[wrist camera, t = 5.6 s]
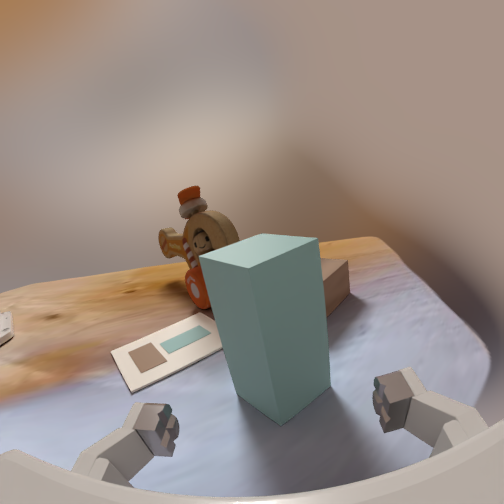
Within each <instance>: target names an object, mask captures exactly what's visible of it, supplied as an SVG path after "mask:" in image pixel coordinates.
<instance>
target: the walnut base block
mask: <svg viewBox="0 0 504 504" xmlns="http://www.w3.org/2000/svg"><path fill="white" fill-rule="evenodd" d="M320 260H321V268H322V277H323V286H324V296H325V307H326V318H327V317H328V316H329V315H330V314H331V313H332V312H333V311H334V309H335V308H336V307H337V306H338V305H339V304H340V303H341V302H342V301H343V300H344V299H345V298H346V296H347V295H348V294H349V293H350V284H349V270H348V260H339V259H323V258H320Z"/></svg>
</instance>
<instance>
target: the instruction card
mask: <svg viewBox="0 0 504 504" xmlns="http://www.w3.org/2000/svg"><path fill="white" fill-rule="evenodd" d="M222 348H223V347H222V343H221V340H220V336H219V333H218V329H217V325H216V322H215V320H213V319H211V318H209V317H208V316H206V315H204V314H202V313H201V312H199V313H197V314H195V315H193V316H191V317H188V318H186V319H184V320H182V321H180V322H177V323H175V324H173V325H171V326H168V327H166V328H164V329H162V330H159V331H157V332H155V333H152V334H150V335H148V336H146V337H143V338H141V339H139V340H136V341H134V342H132V343H129V344H127V345H125V346H122V347H120V348H118V349H115V350H113V351H111V353H112V355H113V357H114V359H115V362H116V364H117V366H118V368H119V370H120V372H121V374H122V375H123V377H124V379H125V381H126V383H127V385H128V387H129V389H130V391H131V392H132V393H133V392H135V391H138V390H140V389H142V388H144V387H146V386H148V385H151V384H153V383H155V382H157V381H159V380H161V379H163V378H165V377H167V376H169V375H171V374H174V373H176V372H178V371H180V370H182V369H184V368H186V367H188V366H190V365H191V364H193V363H195V362H197V361H199V360H201V359H203V358H205V357H207V356H209V355H211V354H213V353H215V352H216V351H218V350H220V349H222Z"/></svg>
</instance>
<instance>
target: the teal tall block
mask: <svg viewBox="0 0 504 504" xmlns="http://www.w3.org/2000/svg"><path fill="white" fill-rule="evenodd" d="M199 260H200V264H201V268H202V272H203V276H204V280H205V284H206V288H207V292H208V296H209V300H210V303H211V307H212V311H213V315H214V318H215V322H216V325H217V329H218V333H219V336H220V340H221V343H222V347H223V350H224V354H225V357H226V360H227V364H228V367H229V370H230V374H231V377H232V380H233V383H234V387H235V390H236V393H237V394H238V395H239V396H240V397H242V398H243V399H244V400H245V401H247V402H248V403H249V404H251V405H252V406H253V407H255V408H256V409H258V410H259V411H260V412H262V413H263V414H264V415H266V416H267V417H269V418H270V419H271V420H273V421H274V422H276V423H277V424H279V425H280V426H282V425H283V424H285V423H286V422H287V421H289V420H290V419H291V418H292V417H294V416H295V415H296V414H297V413H299V412H300V411H301V410H302V409H304V408H305V407H306V406H307V405H309V404H310V403H311V402H312V401H313V400H315V399H316V398H317V397H318V396H319V395H320V394H322V393H323V392H324V391H325V390H326V389H327V388H329V387H330V386H331V382H330V362H329V345H328V331H327V319H326V307H325V296H324V286H323V277H322V268H321V260H320V251H319V243H318V238H309V237H296V236H285V235H273V234H259V235H256V236H253V237H251V238H248V239H245V240H242V241H239V242H237V243H234V244H231V245H228V246H225V247H223V248H220V249H217V250H214V251H211V252H209V253H206V254H203V255H200V256H199Z"/></svg>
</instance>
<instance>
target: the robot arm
mask: <svg viewBox="0 0 504 504" xmlns="http://www.w3.org/2000/svg"><path fill="white" fill-rule="evenodd" d="M13 335H14V331H13V316H12V314H11V312H10V311H9V312H4V313H1V312H0V345H1V344H3V343H4V342H6V341H7V340H9V339H10V338H12V337H13ZM374 387H375V390H374V392H373V398H372V399H373V406H374V410H375V412H376V414H378V415H379V416H380V420H379V422H380V425H381V427H382V430H383V432H384V433H387V432H390V431H394V430H397V429H400V428H404V429H406V430H407V431H409V432H410V433H412V434H413V435H415V436H416V437H418V438H419V439H421V440H422V441H424V442H425V443H427V444H428V445H430V446H431V447H433V450H432V453H431V455H430V457H429V458H428V459H425V460H423V461H420V462H418V463H415V464H412V465H410V466H407V467H404V468H401V469H399V470H396V471H393V472H389V473H386V474H383V475H380V476H376V477H373V478H369V479H366V480H362V481H358V482H354V483H350V484H345V485H341V486H336V487H331V488H326V489H320V490H314V491H308V492H301V493H293V494H283V495H272V496H257V497H204V496H189V495H178V494H169V493H162V492H155V491H148V490H142V489H137V488H134V487H133V486H132V485H131V484H130V483H129V482H128V481H129V480H130V479H132V478H133V477H134V476H135V475H136V474H137V473H138V472H139V471H140V470H141V469H142V468H143V467H144V466H145V465H146V464H147V463H148V462H149V461H150V460H151V459H152V458H153V457H154V456H165V457H172V456H173V453H174V449H175V446H176V445H175V443H174V440H175V439H176V438H178V435H179V423H178V420H177V418H176V417H175V416H174V415H172V414H171V412H172V409H171V407H170V405H169V404H157V403H137V402H136V403H135V404H133V406H132V408H131V410H130V412H129V414H128V416H127V418H126V420H125V422H124V424H123V426H122V428H118V429H116V430H115V431H113V432H112V433H110V434H109V435H107V436H106V437H104V438H103V439H101V440H100V441H98V442H96V443H95V444H93V445H92V446H90V447H89V448H87V449H86V450H84V451H82V452H81V453H80V455H79V457H78V459H77V461H76V463H75V465H74V466H73V468H72V470H71V471H69V470H66V469H63V468H60V467H57V466H55V465H52V464H50V463H47V462H45V461H42V460H40V459H37V458H35V457H33V456H30V455H28V454H26V453H24V452H22V451H20V450H11V451H8V452H5V453H3V454H1V455H0V504H504V419H503V420H501V421H499V422H498V423H496V424H495V425H493V426H491V427H490V428H488V426H487V425H486V423H485V422H484V420H483V419H482V417H481V416H480V414H479V413H478V411H477V410H476V409H475V408H473V407H470V406H468V405H465V404H463V403H460V402H458V401H455V400H453V399H450V398H448V397H445V396H443V395H440V394H438V393H435V392H433V391H431V390H430V391H427V390H426V389H425V387H424V386H423V384H422V383H421V381H420V380H419V378H418V377H417V375H416V374H415V372H414V371H413V369H412V368H411V367H408V368H404V369H401V370H398V371H395V372H392V373H388V374H385V375H381V376H378V377H375V379H374Z"/></svg>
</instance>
